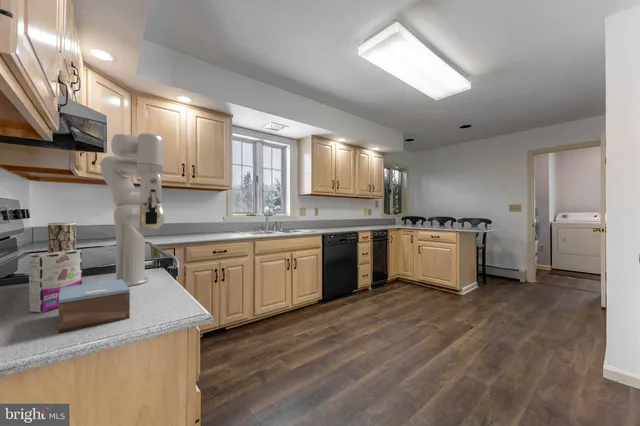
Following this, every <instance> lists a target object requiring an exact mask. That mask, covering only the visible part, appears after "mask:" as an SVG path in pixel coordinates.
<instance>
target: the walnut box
mask: <svg viewBox="0 0 640 426" xmlns="http://www.w3.org/2000/svg"><path fill="white" fill-rule="evenodd" d="M130 298H131V291H130V292H127V293H121V294H115V295H108V296H102V297H96V298H89V299H83V300H77V301H70V302H64V303H59V308H58V334H62V333H67V332H71V331H75V330H80V329H85V328H90V327H93V326H94V327H95V326H100V325H104V324H110V323H114V322H117V321H118V322H119V321H123V320H128V319H130V317H131V316H130V315H131V314H130V311H131V310H130V309H131V307H130V306H131V305H130V304H131V303H130V301H131V299H130Z"/></svg>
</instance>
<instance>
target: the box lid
mask: <svg viewBox="0 0 640 426" xmlns="http://www.w3.org/2000/svg"><path fill="white" fill-rule="evenodd" d="M127 292H130V293H131V288H130V287H129V286H127V285H126V284H125V282H124V281H123V280H122V279H120V280H115V279H113V280H106V281H98V282H90V283H82V284H81V285H73V286H66V287H61V288H60V295H59V303H64V302H70V301H77V300H83V299H89V298H96V297H102V296H108V295H115V294H121V293H127Z"/></svg>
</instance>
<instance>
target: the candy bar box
mask: <svg viewBox="0 0 640 426" xmlns="http://www.w3.org/2000/svg"><path fill="white" fill-rule="evenodd" d="M82 255H83V253H82V250H77V249H76V250H68V251H60V252H53V253H48V252H47V253H39V254H32V255H28V280H29V283H28V289H29V290H28V291H29V294H28V295H29V299H28V300H29V312H31V313H37V314H38V313H39V314H43V313H46V312H51V311H53V310H56V309H59V295H60V288H61V287H66V286H73V285H81V284H83V274H82V273H83V267H82V265H83V264H82V262H83V261H82Z"/></svg>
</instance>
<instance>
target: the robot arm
mask: <svg viewBox="0 0 640 426" xmlns="http://www.w3.org/2000/svg"><path fill="white" fill-rule="evenodd" d="M110 147H111V148H110V149H111V152H112V153H113V155H110V156H109V155H108V156H105V157H104V158H102V159H101V161H100V172H101V176H102V178H103V180H104V182H105V183H106V185H107V186H108V187H109V189H110V192H111V195H112V199H113V202H114V205H115V209H114V210H113V221H114V226H115V243H116V245H115V247H116V249H115V251H116V252H115V254H116V255H115V256H116V257H115V278H114V280H120V279H122V280H123V281H124V282H125V284H126V285H127V286H128V287H129V286H130V287H131V286H137V285H143V284H145V283H147V282H149V280H150V278H149V276H145V273H146V272H145V266H146V265H145V264H146V263H145V259H146V256H145V253H146V250H145V249H146V239H145V236H144V235H143V234H142V233H141V232H140V230H139V229H140V228H139V225H140V205H147V212H146V224H157V205H158V206H160V218H159V227H162V226H163V225H164V223H165V221H166V216H165V212H164V208H163V206H162V202H163V199H162V198H163V197H162V194H163V193H162V177H163V175H164V173H163V171H164V169H163V168H164V167H163V166H164V165H163V164H164V139H163V138H162V137H161V136H160V135H158V134H154V133H149V132H147V133H145V132H144V133H139V134H138V136H137V135H131V134H124V133H116V134H114V135H113V136H112V139H111V142H110ZM127 177H134V178H140V180H139V181H140V188H135V185H134V183H133V182H132V181H131V180H130V179H128V178H127Z"/></svg>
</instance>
